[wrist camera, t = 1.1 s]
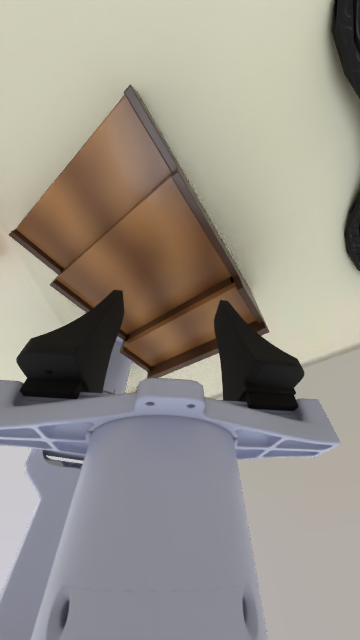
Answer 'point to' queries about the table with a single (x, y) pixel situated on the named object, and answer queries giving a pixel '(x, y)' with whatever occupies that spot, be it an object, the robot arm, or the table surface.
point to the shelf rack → (138, 243)
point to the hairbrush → (356, 58)
